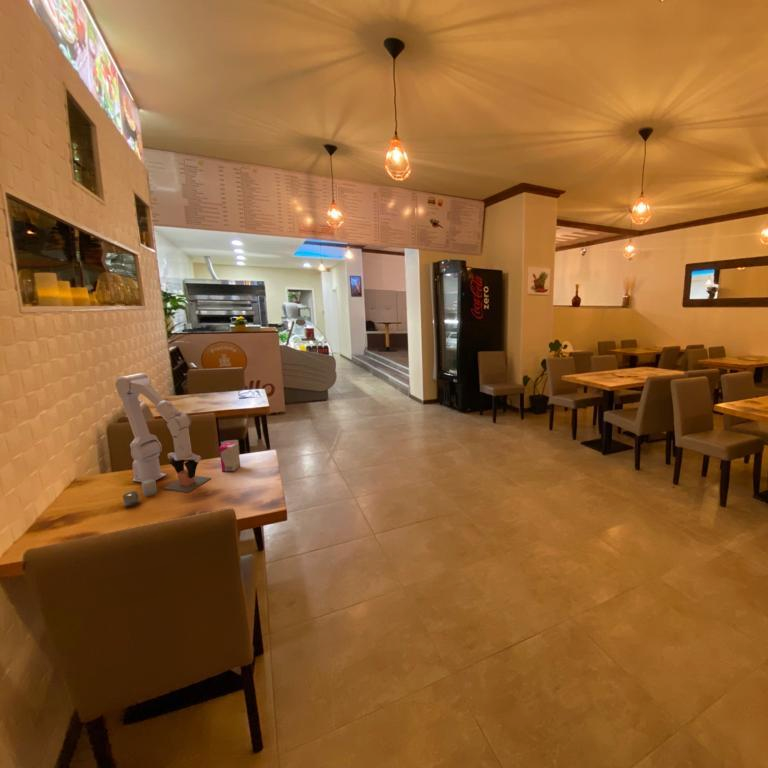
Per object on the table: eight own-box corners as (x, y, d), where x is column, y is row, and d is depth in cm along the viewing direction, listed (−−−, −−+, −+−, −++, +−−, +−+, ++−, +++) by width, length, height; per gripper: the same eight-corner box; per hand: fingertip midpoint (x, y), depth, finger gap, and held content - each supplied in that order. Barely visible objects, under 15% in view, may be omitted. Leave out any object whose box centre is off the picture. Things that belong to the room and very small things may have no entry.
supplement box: (240, 466, 162) (238, 442, 159) (234, 472, 156) (231, 447, 154) (228, 466, 162) (225, 441, 160) (221, 472, 156) (218, 447, 154)
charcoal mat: (163, 488, 142) (163, 488, 142) (187, 475, 154) (187, 474, 154) (188, 492, 139) (187, 491, 139) (210, 478, 150) (210, 477, 150)
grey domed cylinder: (140, 495, 138) (138, 483, 137) (151, 489, 142) (149, 478, 141) (149, 497, 137) (147, 484, 136) (159, 491, 141) (158, 479, 140)
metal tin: (121, 506, 130) (119, 496, 129) (133, 500, 134) (131, 490, 133) (130, 508, 129) (129, 498, 128) (142, 502, 133) (140, 492, 132)
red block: (179, 484, 145) (177, 473, 144) (187, 480, 148) (185, 469, 147) (187, 486, 144) (185, 474, 142) (194, 481, 147) (193, 470, 146)
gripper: (159, 446, 141) (164, 478, 144) (189, 450, 137) (193, 483, 140) (174, 440, 148) (178, 471, 151) (203, 443, 144) (207, 475, 146)
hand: (186, 476), depth 146 cm, fingers open, 5 cm apart
